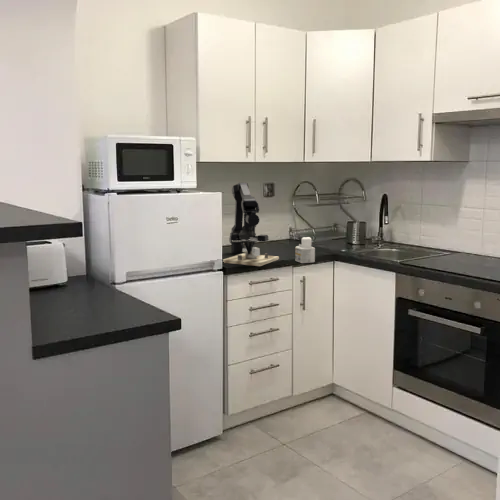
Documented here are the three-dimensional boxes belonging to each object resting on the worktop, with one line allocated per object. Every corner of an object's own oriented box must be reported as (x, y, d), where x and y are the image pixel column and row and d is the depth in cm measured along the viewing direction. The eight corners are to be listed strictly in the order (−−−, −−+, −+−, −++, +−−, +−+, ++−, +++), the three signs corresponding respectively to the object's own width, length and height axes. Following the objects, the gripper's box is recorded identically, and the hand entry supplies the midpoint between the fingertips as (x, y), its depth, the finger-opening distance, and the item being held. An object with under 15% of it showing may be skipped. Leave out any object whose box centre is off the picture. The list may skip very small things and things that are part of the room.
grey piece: (240, 251, 294) (240, 245, 293) (256, 250, 296) (256, 244, 296) (248, 256, 279) (248, 249, 278) (265, 255, 282) (265, 248, 281)
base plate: (222, 262, 287) (222, 253, 286) (243, 256, 306) (243, 247, 305) (259, 266, 277) (259, 256, 276) (279, 259, 296) (279, 250, 295)
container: (295, 260, 291) (295, 236, 289) (308, 259, 294) (308, 235, 291) (301, 263, 284) (301, 238, 282) (315, 262, 286) (315, 237, 284)
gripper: (225, 224, 275) (226, 255, 278) (261, 226, 268) (260, 257, 271) (234, 222, 285) (235, 252, 288) (268, 223, 278) (268, 254, 281)
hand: (249, 254), depth 282 cm, fingers closed
